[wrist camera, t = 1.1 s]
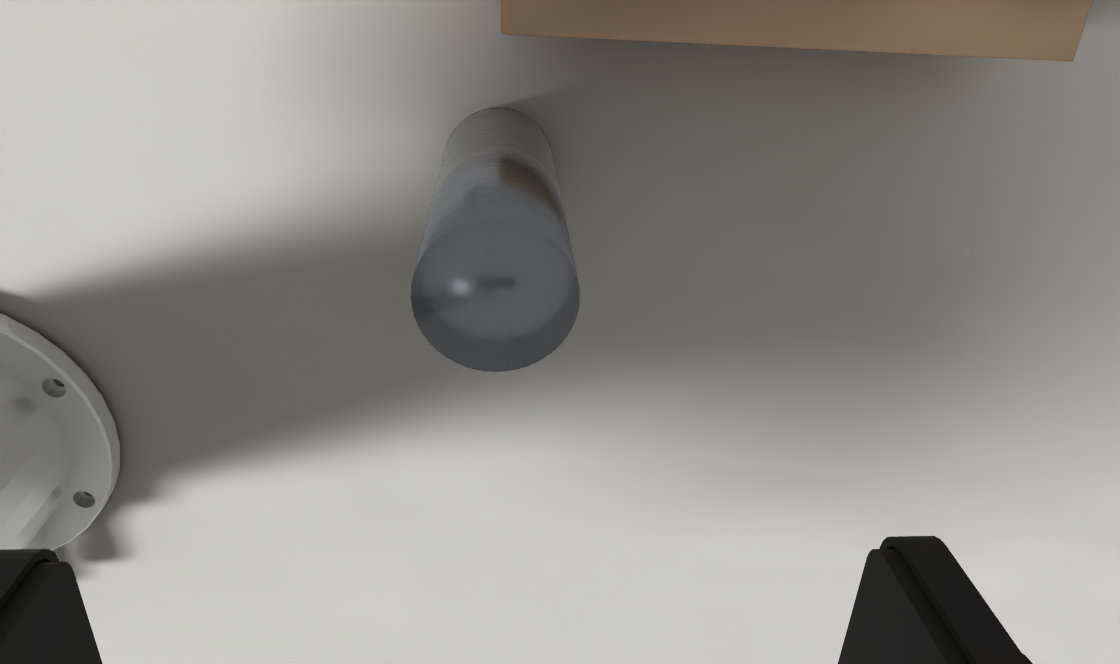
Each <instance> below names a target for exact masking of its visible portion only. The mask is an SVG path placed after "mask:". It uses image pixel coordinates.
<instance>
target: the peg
mask: <svg viewBox="0 0 1120 664" xmlns="http://www.w3.org/2000/svg"><path fill="white" fill-rule="evenodd" d="M411 301H412V308H413V312H414V316H415V319H416V321H417V324H418V326H419V328H420V329H421V331H422V333H423V335H424V336H425V337H426V338H427V340H428V341H429V342H430V343H431V344H432V345H433V346H434V347H435V348H436V349H437V350H438V351H439V352H440V353H442V354H443V355H444V356H446V357H447V358H449V359H451V360H452V361H454V362H456V363H459V364H461V365H463V366H466V367H469V368H473V369H477V370H483V371H494V372H495V371H509V370H515V369H519V368H522V367H526V366H528V365H531V364H533V363H536V362H537V361H539V360H541V359H543V358H544V357H546V356H547V355H549V354H550V353H551V352H553V351H554V350H555V349H556V348H557V347H558V346H559V345H560V344H561V343H562V341H563V340H564V339H565V338H566V336H567V335H568V333H569V332H570V330H571V328H572V326H573V324H574V321H575V319H576V315H577V312H578V307H579V285H578V279H577V274H576V269H575V264H574V259H573V254H572V249H571V244H570V239H569V234H568V230H567V225H566V220H565V215H564V210H563V205H562V200H561V195H560V190H559V185H558V180H557V175H556V170H555V165H554V161H553V156H552V151H551V147H550V144H549V142H548V139H547V137H546V136H545V134H544V132H543V131H542V130H541V128H540V127H539V126H538V125H537V124H536V123H535V122H534V121H533V120H531V119H530V118H528V117H527V116H525V115H523V114H522V113H519V112H517V111H514V110H510V109H504V108H491V109H485V110H482V111H479V112H476V113H474V114H472V115H470V116H469V117H467V118H466V119H464V120H463V121H462V122H461V123H460V124H459V125H458V126H457V127H456V128H455V130H454V131H453V133H452V134H451V136H450V138H449V140H448V143H447V146H446V150H445V154H444V158H443V162H442V166H441V169H440V173H439V177H438V181H437V185H436V189H435V193H434V197H433V201H432V205H431V209H430V213H429V217H428V221H427V225H426V229H425V233H424V237H423V241H422V244H421V248H420V252H419V256H418V260H417V264H416V268H415V272H414V276H413V281H412V286H411Z"/></svg>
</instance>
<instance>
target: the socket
mask: <svg viewBox="0 0 1120 664" xmlns="http://www.w3.org/2000/svg"><path fill="white" fill-rule="evenodd" d="M1092 1H1093V0H502V13H501V34H508V35H529V36H550V37H571V38H592V39H613V40H634V41H655V42H676V43H697V44H718V45H740V46H761V47H782V48H803V49H824V50H845V51H866V52H887V53H908V54H929V55H950V56H971V57H992V58H1013V59H1034V60H1055V61H1073V59H1074V56H1075V53H1076V50H1077V47H1078V44H1079V41H1080V37H1081V34H1082V31H1083V28H1084V25H1085V22H1086V19H1087V16H1088V13H1089V10H1090V7H1091V4H1092Z"/></svg>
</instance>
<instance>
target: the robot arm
mask: <svg viewBox="0 0 1120 664" xmlns="http://www.w3.org/2000/svg"><path fill="white" fill-rule="evenodd" d="M119 470H120V443H119V439H118V434H117V430H116V426H115V422H114V420H113V418H112V415H111V413H110V411H109V409H108V407H107V405H106V403H105V401H104V399H103V397H102V395H101V394H100V393H99V391H98V390H97V389H96V387H95V386H94V384H93V383H92V382H91V380H90V379H89V377H88V376H87V375H86V374H85V373H84V372H83V371H82V370H81V369H80V368H79V367H78V366H77V365H76V364H75V363H74V362H73V361H72V360H71V359H70V358H69V357H68V356H67V355H66V354H65V353H64V352H63V351H62V350H61V349H59V348H58V347H56V346H55V345H54V344H52V343H51V342H50V341H48V340H47V339H45V338H44V337H43V336H41V335H40V334H39V333H37V332H36V331H34V330H32V329H30V328H28V327H26V326H25V325H23V324H21V323H19V322H17V321H15V320H13V319H11V318H10V317H8V316H6V315H3V314H1V313H0V664H102V661H101V658H100V654H99V651H98V648H97V645H96V642H95V639H94V635H93V632H92V629H91V626H90V623H89V619H88V616H87V613H86V610H85V607H84V604H83V600H82V597H81V594H80V591H79V588H78V584H77V581H76V578H75V575H74V572H73V569H72V567H71V565H70V564H68V563H67V562H59V560H58V558H57V556H56V554H55V553H54V552H53V551H52V550H54V549H56V548H58V547H60V546H62V545H64V544H66V543H68V542H70V541H72V540H73V539H74V538H75V537H77V536H78V535H79V534H81V533H82V532H83V531H84V530H86V529H87V528H88V527H89V526H90V524H91V523H92V522H93V521H94V519H95V518H96V517H97V515H98V514H99V513H100V512H101V510H102V509H103V507H104V506H105V504H106V502H107V501H108V499H109V497H110V495H111V494H112V492H113V490H114V488H115V485H116V481H117V477H118V474H119ZM838 664H1032V662H1031V661H1030V660H1029V659H1028V658H1027V657H1026V656H1025V655H1024V654H1022V653H1021V652H1020V650H1019V649H1018V647H1017V646H1016V644H1015V643H1014V642H1013V640H1012V639H1011V637H1010V636H1009V634H1008V633H1007V632H1006V630H1005V629H1004V627H1003V626H1002V625H1001V623H1000V622H999V620H998V619H997V617H996V616H995V615H994V613H993V612H992V610H991V609H990V607H989V606H988V605H987V603H986V602H985V600H984V599H983V598H982V596H981V595H980V593H979V592H978V590H977V589H976V588H975V586H974V585H973V583H972V582H971V581H970V579H969V578H968V576H967V575H966V573H965V572H964V571H963V569H962V568H961V566H960V565H959V563H958V562H957V561H956V559H955V558H954V556H953V555H952V554H951V552H950V551H949V549H948V548H947V546H946V545H945V544H944V543H943V542H942V541H941V540H940V539H939V538H937V537H935V536H907V537H887V538H886V539H885V540H884V541H883V542H882V544H881V547H880V549H873V550H871V551H870V552H869V554H868V557H867V560H866V563H865V567H864V571H863V574H862V578H861V582H860V585H859V589H858V592H857V596H856V600H855V603H854V607H853V611H852V614H851V618H850V622H849V625H848V629H847V633H846V636H845V640H844V643H843V647H842V651H841V654H840V658H839V662H838Z"/></svg>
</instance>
